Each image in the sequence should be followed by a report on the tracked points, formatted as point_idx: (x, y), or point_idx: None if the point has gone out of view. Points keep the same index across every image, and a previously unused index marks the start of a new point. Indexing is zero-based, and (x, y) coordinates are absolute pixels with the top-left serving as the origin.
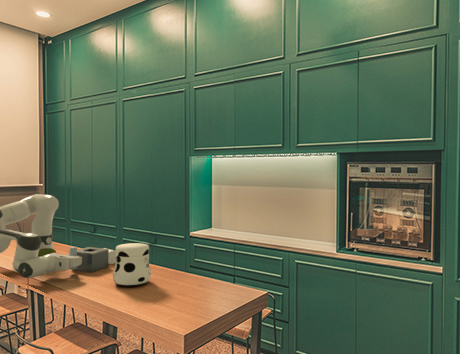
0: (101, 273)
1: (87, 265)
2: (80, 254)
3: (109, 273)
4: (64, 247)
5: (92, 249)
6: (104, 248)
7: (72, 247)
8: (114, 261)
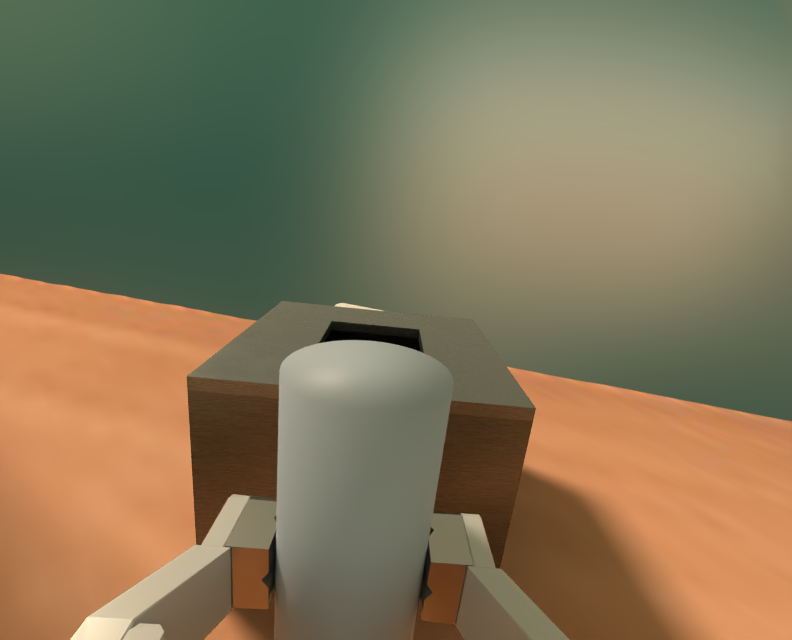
0: (602, 589)
1: None
2: None
3: (653, 564)
4: (18, 287)
5: (359, 326)
6: (347, 305)
7: (350, 370)
8: None
